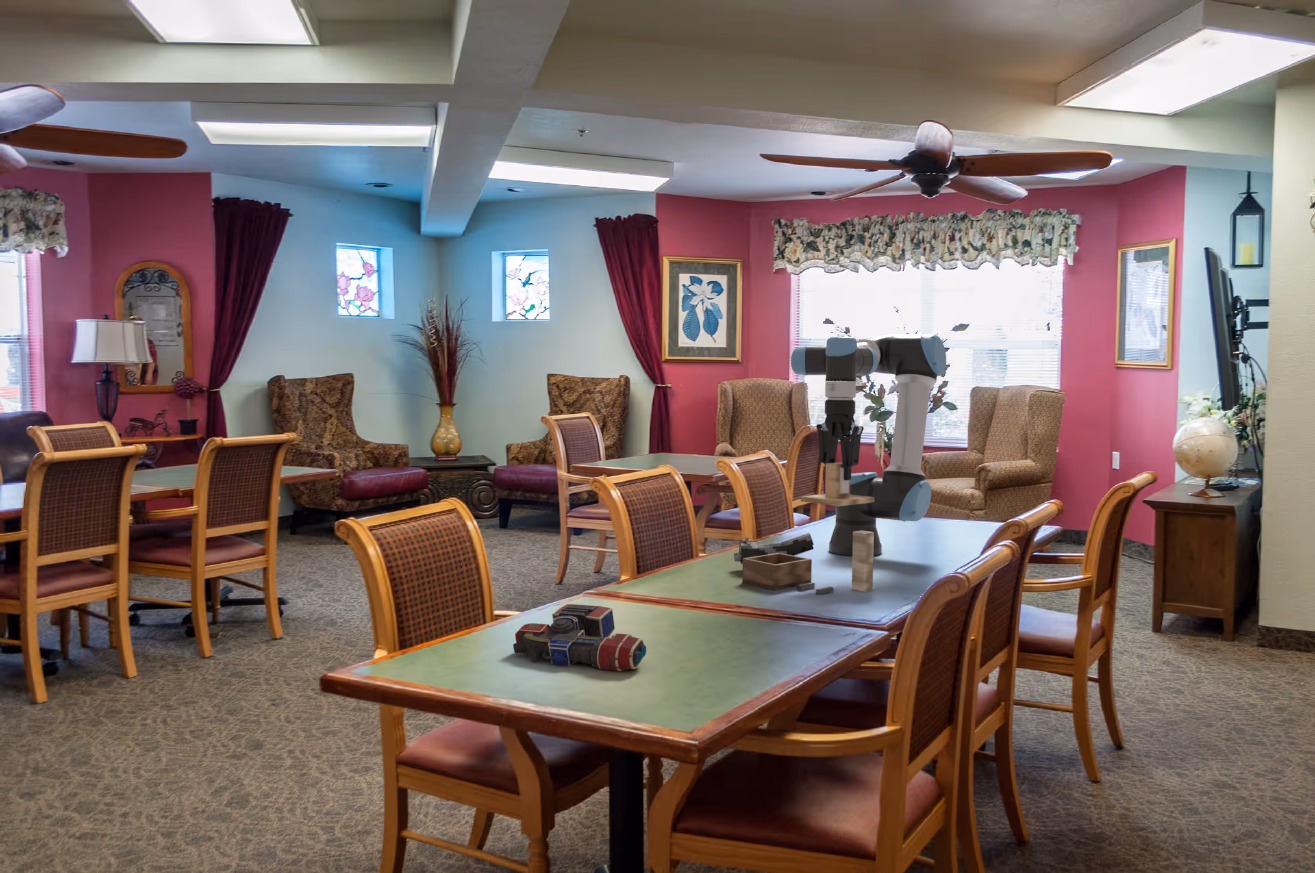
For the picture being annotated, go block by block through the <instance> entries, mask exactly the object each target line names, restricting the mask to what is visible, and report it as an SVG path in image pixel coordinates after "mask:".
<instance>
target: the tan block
mask: <svg viewBox="0 0 1315 873" xmlns="http://www.w3.org/2000/svg"><path fill="white" fill-rule="evenodd" d="M873 550H874V532H869V531H863V530H861V531H855V532H853V554H852V556H851V557H852V560H851V561H852V563H851V568H852V569H851V590H852V591H856V590H858V591H857V592H862V593H866V592H871V591H873V587H874V584H873V583H874V555H873ZM870 590H871V591H870Z"/></svg>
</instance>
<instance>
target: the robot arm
mask: <svg viewBox="0 0 1315 873" xmlns="http://www.w3.org/2000/svg"><path fill="white" fill-rule="evenodd" d="M825 344H826V345H820V346H819V345H817V346H798V347H795V349H793V351H792V353H791V356H790V367H791V369H792V371H793V373H794V374H796V375H799V376H825V383H824V384H825V388H824V390H825V391H824V395H825V398H827V399H825V401H824V414H825V415H826V417H825V419H824V422H822V423H819V424H818V423H817V424H816V430H817V433H818V450H819V452H818V453H819V455H818V456H819V462H820V463H822V464H824V465H825V466H826V463H836V460H837V452H838V446H839V445H840V452H841V453H840V454H841V462H842V464H843V465H841V467H840V488H839V494H844V493H849V480H850V494H851V495H859V496H867V497H874V502H871V503H863V504H854V505H846V506H835V525H834V528H833V531H832V534H831V537H830V540H829V543H828V551H829V552H830V553H833V554H837V555H844V556H851V557H852V554H853V532H855V531H861V530H863V531H869V532H874V550H873V556H878V555H880V554H882V553H883V552H882V550H883V549H882V547H883V546H882V543H881V540H880V539H881V538H880V535H879V532H878V531H879V530H877V529H878V528H877V519H882V520H892V521H899V522H901V521H902V522H917V521H918V522H919V521H920V520H921V519H922V518H924V516H925V515H927V514H926V513H927V512H928V510H929V507H930V504H931V499H932V491H931V490H932V486H931V484H930V483H929V482H928V481H927V480H926V474H925V473H924V472H923V470H922V462H923V460H922V459H923V451H924V444H925V437H926V436H925V435H926V427H927V419H928V418H927V417H928V409H929V401H930V393H931V387H932V386H933V385H935V384H936V383H937V379H938V376H942V375H943V374H944V373H945V371H946V368H947V354H946V353H947V352H946V348H945V345H944V342H943V341H942V338H940V336H939V335H937V334H933V333H909V334H905V333H903V334H897V333H896V334H884V335H883V334H882V335H878V336H873V337H869V338H862V339H859V340H857V338H855V337H852V336H831V337H829V338H827V340H826V343H825ZM873 373H878V374H884V375H885V374H886V375H894V379H895V380H896V382H897V383H898V384H899V385H898V386H899V388H898V394H897V403H896V411H895V420H894V427H893V428H894V429H893V437H892V444H891V454H890V462H889V465H888V466H887V467H886V468H885V469H884V470H883V475H882V477H879V474H878V473H877V471H875V472H874V471H873V472H872V471H870V472H869V471H868V472H866V471H865V472H856V473H852V468H853V466H854V467H855V466H857V465H859V461H860V451H861V439H862V434H863V431H864V430H865V429H864V426H863V425H859V424H857V423H856V421H855V418H854V416H855V414H856V400H854V399H855V398H856V396H857V395H856V394H857V393H856V392H857V379H856V378H857V376H858V377H865V376H869V375H872V374H873Z"/></svg>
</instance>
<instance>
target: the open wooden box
mask: <svg viewBox="0 0 1315 873" xmlns="http://www.w3.org/2000/svg"><path fill="white" fill-rule="evenodd" d="M812 563H813V562H812V559H811V558H807V557H801V556H797V555H795V556H792V555H787V554H782V553H775V554H768V555H762V556H756V557H749V558H743V564H742V569H741V570H742V572H741V573H742V574H741V575H742V577H741V578H742V579H741V581H742V583H743V584H746V583H747V584H746V585H750V586H755V585H756V586H755V587H760V588H763V587H765V588H764V589H768V590H772V591H778V590H783V589H782V588H784V589H788V588H787V587H789V588H793V587H792V584H806V583H811V582H812V566H813V564H812Z"/></svg>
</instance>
